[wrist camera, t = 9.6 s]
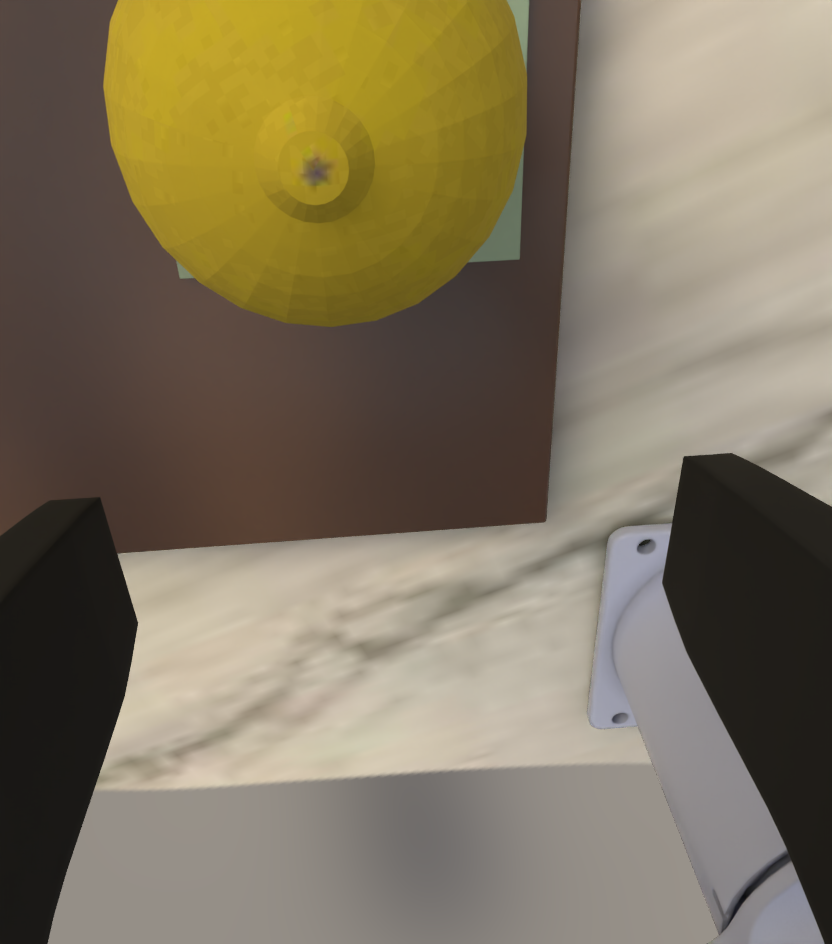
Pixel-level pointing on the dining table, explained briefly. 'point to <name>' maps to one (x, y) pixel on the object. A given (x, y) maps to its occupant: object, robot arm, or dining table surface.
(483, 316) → the board
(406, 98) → the lemon
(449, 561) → the dining table surface
